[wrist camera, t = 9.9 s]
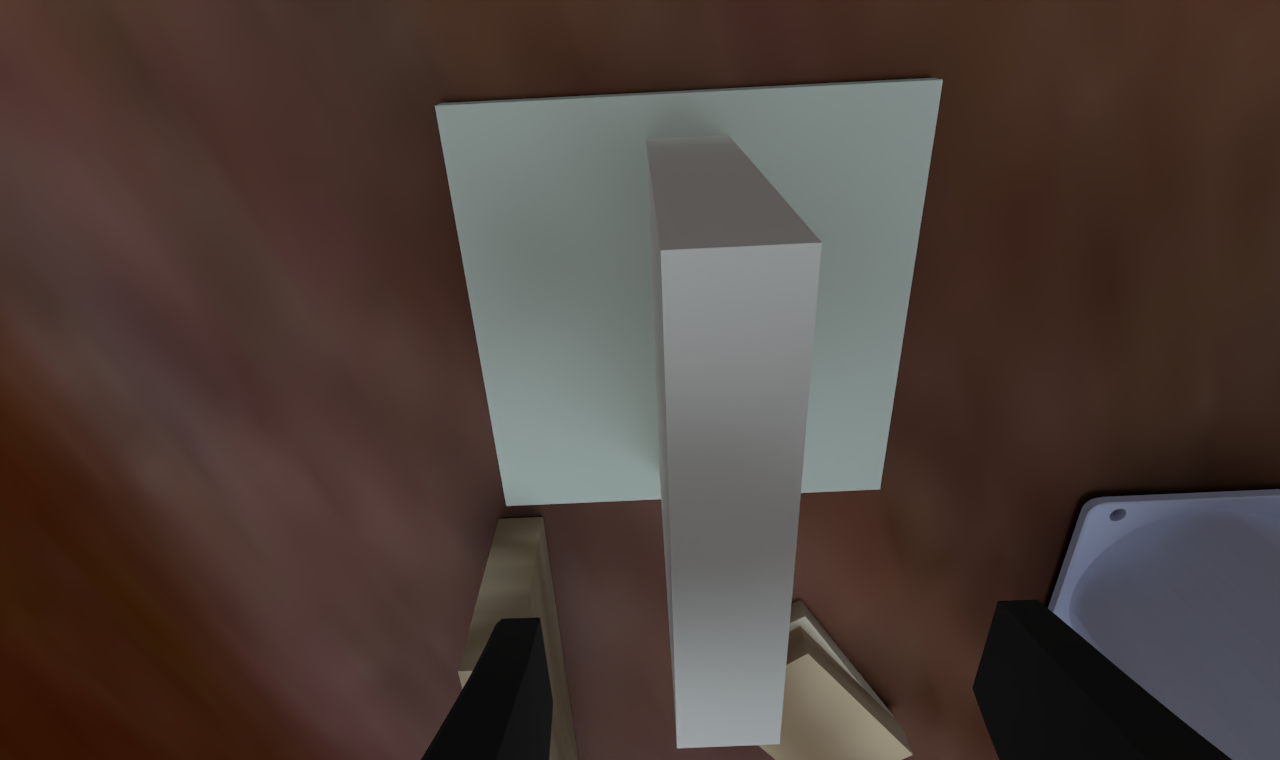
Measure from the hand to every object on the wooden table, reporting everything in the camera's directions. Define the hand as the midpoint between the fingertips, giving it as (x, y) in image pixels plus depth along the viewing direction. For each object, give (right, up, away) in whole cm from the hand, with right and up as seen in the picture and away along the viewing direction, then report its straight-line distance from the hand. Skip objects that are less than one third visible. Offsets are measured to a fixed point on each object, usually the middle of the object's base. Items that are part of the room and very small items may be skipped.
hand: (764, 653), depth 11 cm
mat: (-1, +6, +8) cm, 10 cm away
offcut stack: (+4, -8, +16) cm, 18 cm away
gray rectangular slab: (-1, +6, +8) cm, 10 cm away
